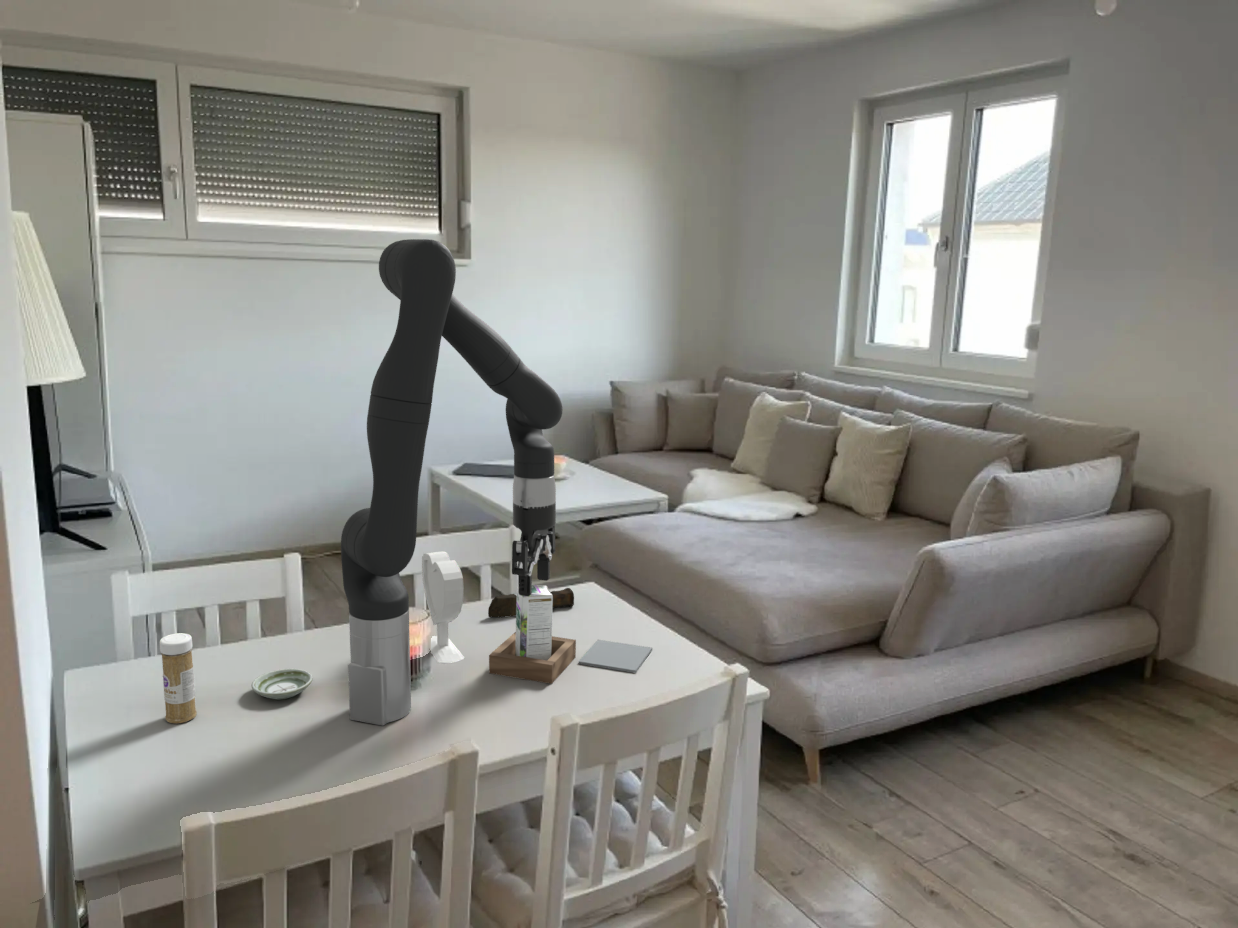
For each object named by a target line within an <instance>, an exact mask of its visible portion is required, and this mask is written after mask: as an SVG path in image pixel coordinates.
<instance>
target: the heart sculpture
mask: <svg viewBox="0 0 1238 928" xmlns="http://www.w3.org/2000/svg"><path fill="white" fill-rule="evenodd" d="M459 566H460V565H458V562H457V561H456V560H455V559H450V556H449V553H448V552H446V551H434V552H427V553H426V552H425V553H423V554H422V556H421V574H422V575H421V576H422V584H423V590H424V596H425V600H426V604H427V607H428V610H429V613H430V617H431V621H432V624H433V626H435V625H436V635H432V638H431V652H430V653H431V655H432V656H433V657H434V659H435V660H436V662H437V664H438V663H439V664H451V663H452V664H453V663H457V662H459V661H463V660H464V659H465V656H464V655H463V654H462V652H461V651H460V650H459V648H457V647H456V645H455V644H454V643H453V640H451V639H450V637H449V623H452V622H453V621H454V620H456V618H458V617H459V615H460V613H461V611H462V608H463V604H464V603H463V602H464V590H465V589H464V578H463V577H464V576H463V572H462V570H461V568H460V567H459Z"/></svg>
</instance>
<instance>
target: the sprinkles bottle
mask: <svg viewBox="0 0 1238 928" xmlns="http://www.w3.org/2000/svg"><path fill="white" fill-rule="evenodd" d="M192 638H193V637H192V636H191V635H190V634H189V633H184V632H183V633H181V632H180V633H179V632H178V633H171V634H168V635H164V636H163V637H161V639H160V640H159V652H160V654H161V662H162V663H161V664H162V673H163V674H162V678H163V679H162V681H163V682H162V683H163V697H164V703H165V716H164V717H165V720H166V722H168V723H169V724H184V723H186V722H189V721H191V720H193V719H195V718H196V717H197V715H198V714H197V713H198V712H197V708H196V689H195V688H196V686H195V673H194V663H193V653H192V651H193V639H192Z"/></svg>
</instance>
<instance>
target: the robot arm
mask: <svg viewBox="0 0 1238 928" xmlns="http://www.w3.org/2000/svg"><path fill="white" fill-rule="evenodd" d="M456 270H457V269H456V263H455V258H454V256H453V254H452V252H451V250H450V249H449V248H448V247H447V246H446V245H445V243H442V242H440V241H439V240H434V239H428V238H426V239H424V238H423V239H422V238H415V239H414V238H413V239H411V238H410V239H401V240H397V241H394V242H392V243H390V244H388V246H387V247H385V248H384V249H383V251H382V252H381V255H380V257H379V261H378V273H379V277H380V280H381V282H382V283H383V285H384V287H385V288H386V289H387V290H388V291H389V292H390V293H391V294H392V295H393V296H395V297H396V298H397V299H399V300H400V302H399V303H400V304H399V311H398V320H397V323H396V324H397V326H396V328H395V332H394V336H393V338H392V341H391V343H390V345H389V347H388V349H387V351H386V352H385V354H384V356H383V359H382V360H381V363H380V364H379V367H378V368H377V370H376V373H375V375H374V378H373V381H372V384H371V385H372V386H371V390H370V395H369V404H368V410H367V416H366V436H367V437H366V438H367V443H368V444H367V445H368V451H369V458H370V462H371V469H372V479H373V480H372V493H371V494H372V495H371V500H370V506H369V507H365V508H362V509H360V510H357V511H356V512H354V513H353V514H352V515H350V516H349V518H348V519H347V521H346V522H345V524H344V526H343V527H342V532H341V537H340V558H341V570H342V571H341V573H342V582H343V583H342V584H343V591H344V594H345V597H346V599H347V603H348V622H349V649H350V654H349V655H350V662H349V663H348V664H347V671H348V673H347V676H348V677H347V678H348V698H349V699H348V703H349V720H351V721H358V722H360V723H362V722H363V723H367V724H373V725H377V726H385V725H386V724H389V723H391V722H395V721H398V720H400V719H402V718H404V717H406V716H407V715H408V714H409V713H410V712H411V710H412V693H411V692H412V689H411V688H412V687H411V686H412V685H411V681H412V680H411V647H410V645H411V643H410V597H409V592H408V590H407V588H406V586H405V584H404V583H403V581H402V578H401V575H400V573H401V572H402V571H404V569H406V568H407V566H408V565H409V564H410V562H411V561H412V559H413V556H414V552H415V549H416V543H417V533H418V532H417V529H418V510H419V509H418V506H419V505H418V503H419V490H420V483H421V482H420V480H421V476H422V475H421V474H422V468H423V463H424V455H425V449H426V448H425V446H426V440H427V435H428V430H429V425H430V418H431V413H432V412H431V410H432V405H433V404H432V403H433V395H434V394H433V393H434V386H435V380H436V375H437V368H438V362H439V355H440V349H441V347H440V346H441V341H442V338H443V339H444V340H446V342H447V343H449V345H450V346H451V347H452V348H453V349H454V350H455V351H456V352H457V353H458V354H459V355H460V356H461V357H462V358H463V360H465V362H466V363H467V364H468V365H469V366H470V367H471V369H472V370H473V371H474V372H475V374H477V376H479V377H480V379H481V380H482V381H483V382H484V383H485V384H486V385H487V386H488V388H489V389H491V391H493V392H494V393H496V394H497V395H499V396H502V397H504V398H506V403H505V418H506V425H507V428H508V434H509V438H510V442H511V445H512V449H513V483H512V524H513V526H514V527H515V528H516V529H519V530H520V531H521V534H520V537H519V538H520V539H519V540H513V541H512V543H511V545H512V546H511V547H512V550H511V574H512V575H515V576H518V580H517V581H518V585H517V587H518V588H519V595H522V596H530V595H531V594H532V585H533V583H532V578H533V577H532V576H533V575H532V573H533V569H534V566H535V565H536V571H537V572H536V574H537V575H536V576H537V579H538V580H539V581H545V582H547V581H549V580H550V579H551V561H552V557H553V555H554V554H555V553H556V521H557V520H556V518H557V517H556V514H557V513H556V508H557V506H556V504H557V503H556V500H557V497H556V495H557V493H556V492H557V489H556V488H557V487H556V481H555V449H554V446H553V444H552V443H551V442H549V441H548V440H547V439H546V438H545V436H544V435H543V430H549V429H551V428H554V427H556V425H558V424H559V423H560V421H561V418H562V416H563V409H564V408H563V403H562V400H561V398H560V397H559V395H558V393H557V392H556V391H555V389H554V388H553V387H552V386H551V385H550V384H549V383H548V382H547V381H546V380H544V379H543V378H542V377H540V376H539V374H537V373H536V372H535V371H533V370H532V369H530V368H529V367H528V366H527V365H526V364H525V363H524V362H523V361H522V359H521V358H520V357H519V356H518V354H517V353H516V352H515V351H514V350H513V348H512V346H511V345H509V344H508V342H507V341H506V339H504V338H503V337H502V336H501V335H500V334H499V333H498V332H497V331H496V330H495V329H494V328H492V327H491V326H490V325H489V324H487V323H486V322H485V321H483V320H482V319H481V318H480V317H479V316H477V315H476V314H475V313H473V312H472V311H471V310H469V309H468V308H467V307H466V306H465V305H464V304H463V303H462V302H461V301H459V299H458V298H457V297H456V296H455V295H454V294H453V293H454V289H455V283H456V276H457V275H456V273H457V271H456Z"/></svg>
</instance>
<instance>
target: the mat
mask: <svg viewBox="0 0 1238 928" xmlns="http://www.w3.org/2000/svg"><path fill="white" fill-rule="evenodd" d="M652 651H653V647H650V646H644V645H637V644H630V643H623V642H618V641H611V640H604V639H597V640H596V641H595V642H594V643H593V644H592V645H591V647H590V648H589V649H588V650H587V651H586V652H585V654H583V656H581V658H580V659H579V660H578V665H583V666H590V667H596V668H602V669H609V670H614V671H619V672H620V671H622V672H628V673H634V674H636V673H638V671H639V670H640V668H641V667H642V665H643V664H644V663H645V662H646V659H647V658H648V657H649V655H650V654H651V652H652Z"/></svg>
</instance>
